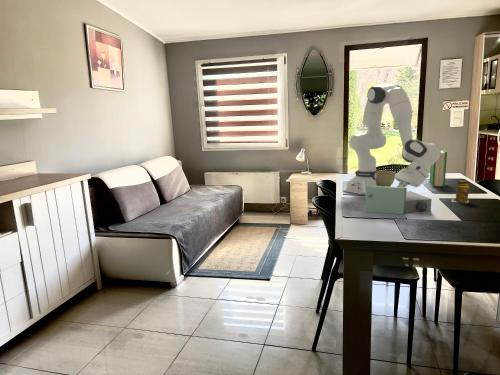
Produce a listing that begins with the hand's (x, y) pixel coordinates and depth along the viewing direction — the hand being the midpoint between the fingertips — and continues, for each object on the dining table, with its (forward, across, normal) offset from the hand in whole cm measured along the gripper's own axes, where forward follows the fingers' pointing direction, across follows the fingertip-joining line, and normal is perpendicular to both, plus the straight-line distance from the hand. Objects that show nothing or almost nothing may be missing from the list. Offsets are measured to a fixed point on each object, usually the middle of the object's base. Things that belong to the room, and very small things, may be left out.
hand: (398, 188), depth 201 cm
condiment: (-21, -6, +38) cm, 44 cm away
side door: (+15, +6, +1) cm, 16 cm away
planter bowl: (-4, -52, +21) cm, 56 cm away
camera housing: (+4, 0, +12) cm, 13 cm away
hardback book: (-32, -51, +49) cm, 77 cm away
